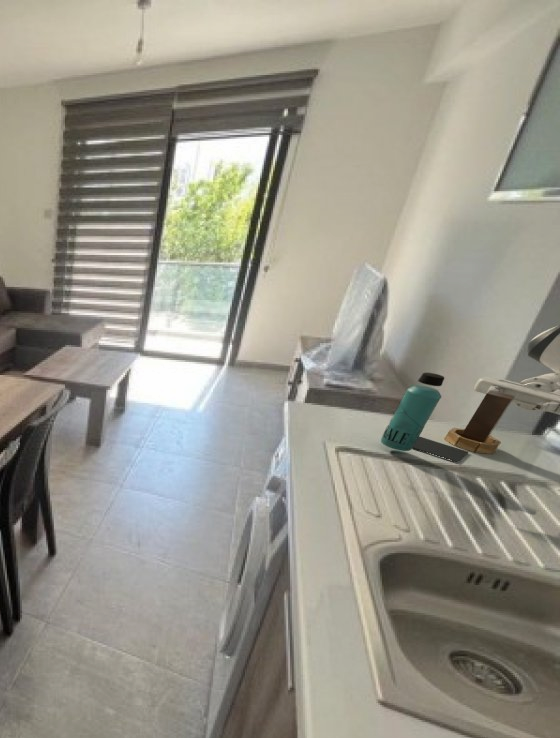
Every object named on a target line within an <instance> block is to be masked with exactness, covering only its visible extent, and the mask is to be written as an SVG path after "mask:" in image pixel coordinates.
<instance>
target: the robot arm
mask: <svg viewBox="0 0 560 738" xmlns="http://www.w3.org/2000/svg"><path fill="white" fill-rule="evenodd" d="M526 350H527V351H526V353H527V357H529V358H531V359H533V360H534V361H536V362H538V363H539V364H542V365H544V366H545V367H547V368H548V369H549V370H551V371H553V372H551V373H550V372H549V373H545V374H541V375H537V376H533V377H530V378H526V379H523V380H521V381H520V382H515V381H513V380H508V379H504V378H500V377H493V376H492V377H491V376H489V377H488V376H487V377H480V378H478V380H477V381H476V383H475V385H474V387H473V390H474V391H475V392H476V393H481V394H484V395H486V394H487V393H488V392H489V391H490V390H492V391H496V392H500V393H505V394H509V395H513V396H515V397H514V399H513V400H512V402H513V403H514V404H515V405H517V406H518V407H520V408H521V409H525V410H528V411H539V412H547V413H552V414H555V415H559V416H560V324H559V325H556V326H554V327H551V328H549V329H546V330H544V331H542V332H541V333H539V334H537V335H536V336H535V337H533V338H532V339H531V340H530V341H529V342H528V343H527V349H526ZM512 402H511V403H512Z"/></svg>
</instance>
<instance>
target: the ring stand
mask: <svg viewBox="0 0 560 738" xmlns="http://www.w3.org/2000/svg"><path fill="white" fill-rule="evenodd" d="M464 430H465V428H461V427H459V428H458V427H452V428H451V429H449V431H447V434H446V435H445V437H444V441H446V442H448V443H449V442H450V443H449V444H451V445H452V444H453V447H455V448H459V447H460V448H459V449H462V450H465V451H468V452H472V453H474V452H475V453H478V454H485V455H486V454H487V455H493V454H494V453H496V451H497V449H498V448H499V447H500V445H501V443H502V442H501V440H499V439H497V438H495V437H493V436H491V435H490V436H489V437H488V439H487V440H486V442H485V443H483V442H477V441H474V440H470V439H467V438H464V437H462V436H461V435H462V433H463V431H464Z"/></svg>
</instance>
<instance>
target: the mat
mask: <svg viewBox="0 0 560 738" xmlns="http://www.w3.org/2000/svg"><path fill="white" fill-rule="evenodd" d="M415 449H417V450H416V451H418V450H421V451H424V452H428V453H431V454H434V455H437V456H440V457H444V458H446V459H450V460H452V461H455V462H458V461H459V462H460V461H461V460H462V459H463V458H465V456H467V454H468V453H469V450H465V449H462V448H459V447H456V446H452V445H448V444H446V443H442V442H438V441H435V440H433V439H429V438H426V437H423V436H421V435H420V436H419V438H418V439H417V441H416V443H415V445H414V446H413V449H412V450H415ZM421 451H420V452H421ZM424 452H423V453H424ZM459 462H458V463H459Z"/></svg>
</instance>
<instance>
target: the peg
mask: <svg viewBox="0 0 560 738" xmlns="http://www.w3.org/2000/svg"><path fill="white" fill-rule="evenodd" d="M514 397H515V396H513V395H509V394H505V393H500V392H496V391H492V390H490V391H489V392H488V393H487V394H484V397H483V399H482V400H481V402H480V403H479V405H478V406H477V408H476V410H475V411H474V413H473V414H472V416H471V418H470V420H469V422H468V423H467V425H466V426H465V428H464V429H465V430H464V431H463V433H462V435H461V436H462V437H464V438H467V439H470V440H474V441H477V442H483V443H485V442H486V440H487V439H488V437H489V436H491V435H492V434H493V431H494V430H495V428H496V427H497V425H498V424H499V422H500V420H501V419H502V417H503V416H504V414H505V413H506V411H507V410H508V408H509V406H510V405H511V403H512V400H513V399H514Z"/></svg>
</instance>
